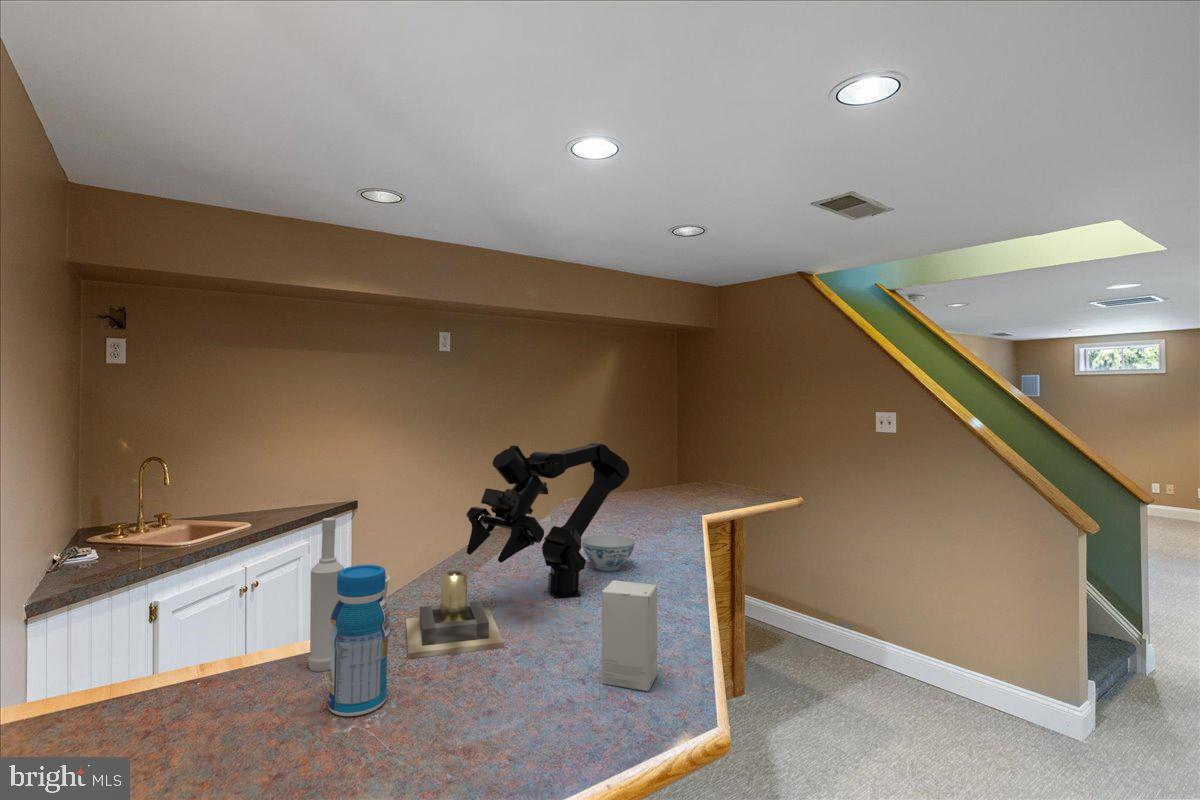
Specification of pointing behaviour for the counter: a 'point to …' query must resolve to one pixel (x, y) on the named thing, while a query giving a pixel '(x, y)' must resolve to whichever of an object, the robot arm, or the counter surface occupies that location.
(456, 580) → the cylinder
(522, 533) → the robot arm
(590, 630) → the counter surface
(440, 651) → the jig plate
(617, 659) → the skincare box
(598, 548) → the chinaware
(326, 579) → the bottle
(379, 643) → the beverage bottle
